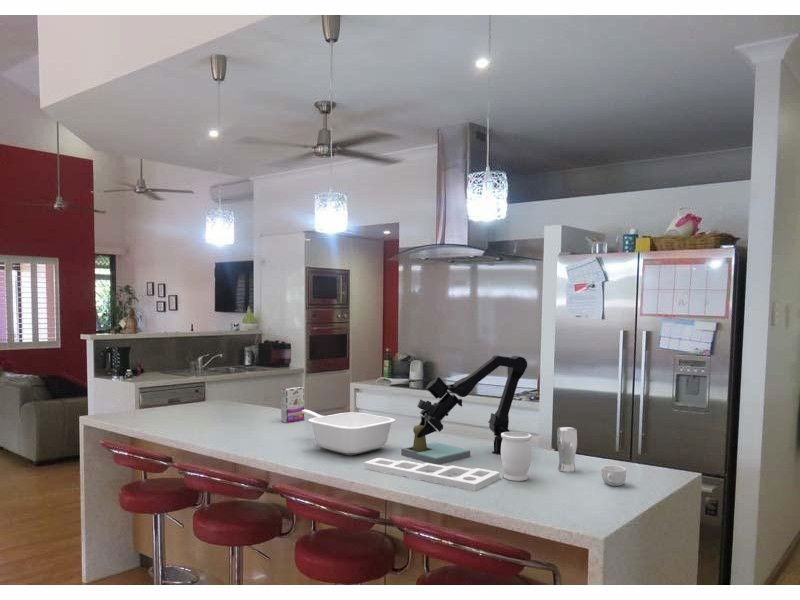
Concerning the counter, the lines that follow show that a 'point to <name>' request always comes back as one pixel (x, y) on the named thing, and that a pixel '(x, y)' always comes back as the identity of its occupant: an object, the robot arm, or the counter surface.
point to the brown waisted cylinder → (419, 440)
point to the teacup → (613, 475)
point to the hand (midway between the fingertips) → (416, 435)
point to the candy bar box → (292, 404)
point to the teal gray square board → (437, 453)
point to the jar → (516, 455)
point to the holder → (436, 473)
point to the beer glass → (566, 448)
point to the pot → (350, 431)
